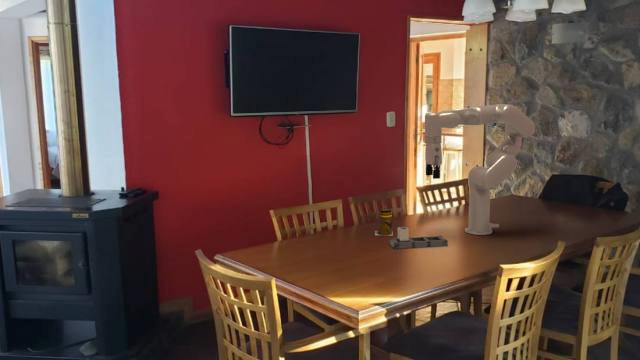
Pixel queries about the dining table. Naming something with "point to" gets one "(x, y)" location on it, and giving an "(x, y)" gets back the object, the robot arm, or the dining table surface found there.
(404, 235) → the block
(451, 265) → the dining table surface
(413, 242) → the grey flat rectangular frame
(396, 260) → the dining table surface
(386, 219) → the condiment
